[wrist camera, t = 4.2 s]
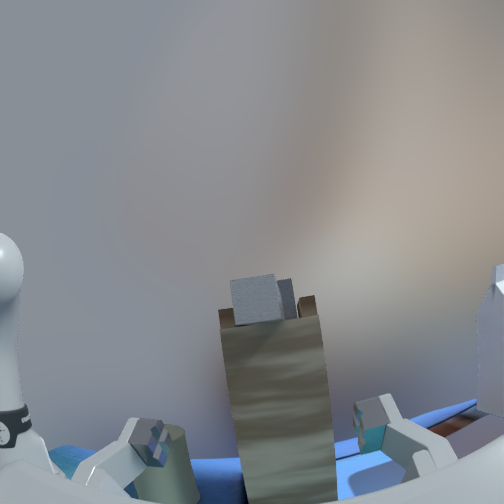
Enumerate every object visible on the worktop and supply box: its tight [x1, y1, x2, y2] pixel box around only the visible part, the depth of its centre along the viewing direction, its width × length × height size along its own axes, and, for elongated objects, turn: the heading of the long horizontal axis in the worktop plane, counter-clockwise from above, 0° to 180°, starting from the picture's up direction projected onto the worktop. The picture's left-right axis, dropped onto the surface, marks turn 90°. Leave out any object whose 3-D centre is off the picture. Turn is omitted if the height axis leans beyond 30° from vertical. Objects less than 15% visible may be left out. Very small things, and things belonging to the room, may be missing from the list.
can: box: [120, 424, 200, 504], centre depth 30 cm, size 9×9×12 cm
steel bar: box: [230, 274, 297, 326], centre depth 30 cm, size 22×6×5 cm, turn 172°
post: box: [218, 295, 338, 504], centre depth 31 cm, size 12×10×27 cm
